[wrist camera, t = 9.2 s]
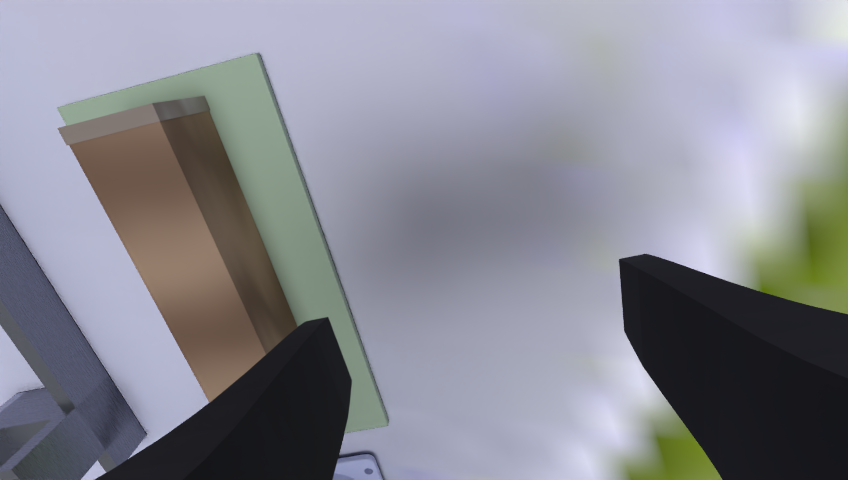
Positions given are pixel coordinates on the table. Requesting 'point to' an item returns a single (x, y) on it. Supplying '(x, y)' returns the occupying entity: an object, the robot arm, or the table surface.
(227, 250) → the rail
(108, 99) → the mat
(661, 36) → the table surface
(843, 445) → the robot arm
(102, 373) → the standards
